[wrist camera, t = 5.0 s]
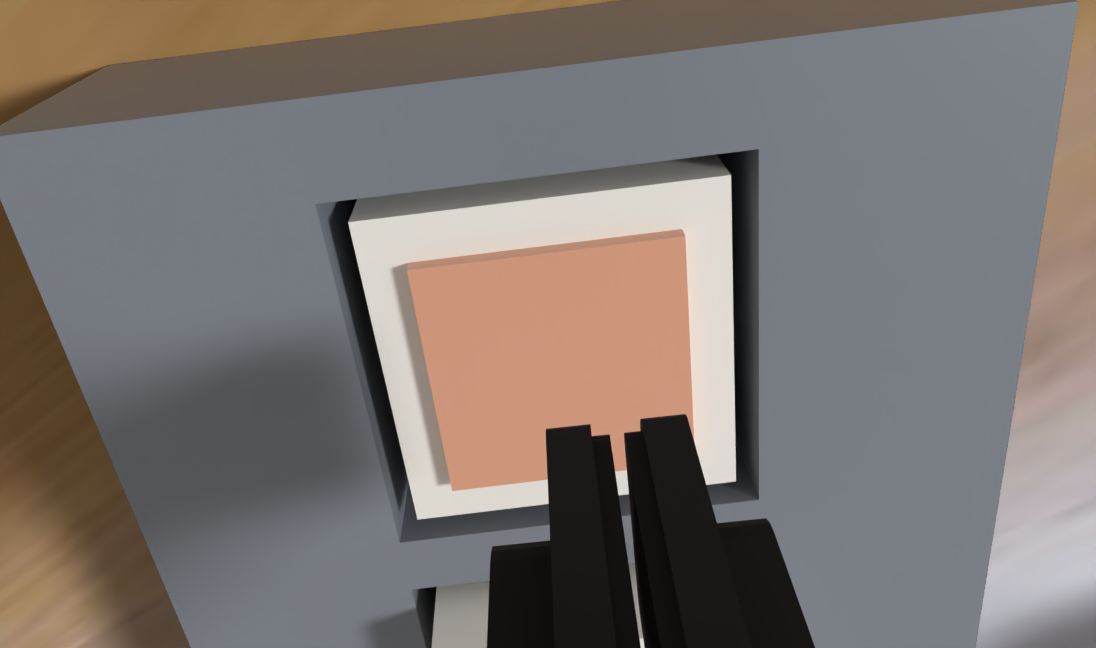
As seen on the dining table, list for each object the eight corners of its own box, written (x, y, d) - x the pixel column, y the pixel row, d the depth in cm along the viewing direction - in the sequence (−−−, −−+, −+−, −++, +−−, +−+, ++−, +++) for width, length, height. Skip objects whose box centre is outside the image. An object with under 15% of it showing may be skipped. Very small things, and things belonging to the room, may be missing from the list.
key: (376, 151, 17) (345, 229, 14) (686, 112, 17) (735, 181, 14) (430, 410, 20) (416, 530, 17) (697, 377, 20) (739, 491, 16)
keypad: (107, 65, 17) (-26, 138, 13) (929, -38, 17) (1079, 1, 13) (377, 860, 30) (356, 1037, 25) (859, 804, 29) (923, 972, 25)
